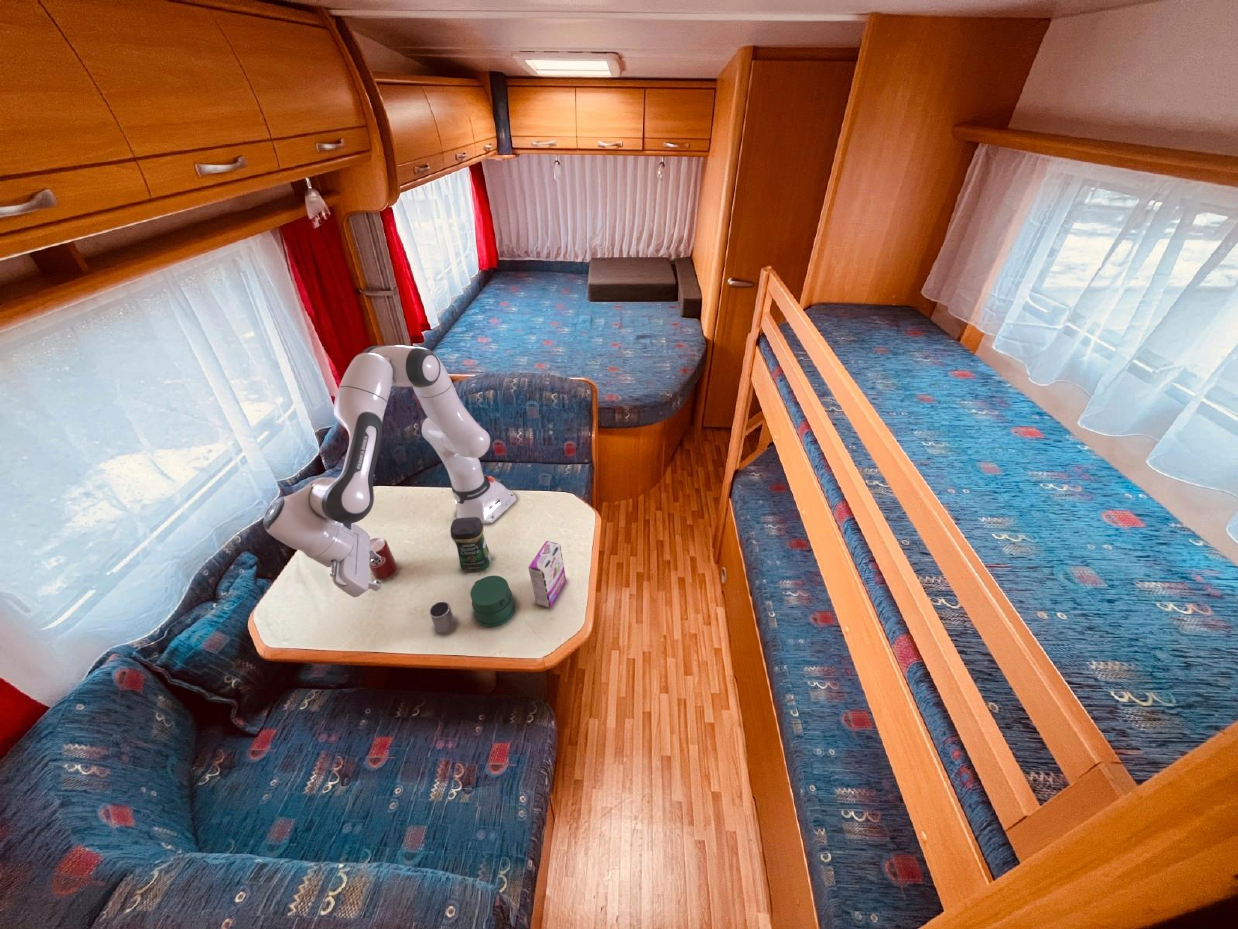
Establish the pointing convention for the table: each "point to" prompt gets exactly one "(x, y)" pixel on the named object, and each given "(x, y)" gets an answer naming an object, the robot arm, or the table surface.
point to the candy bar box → (547, 574)
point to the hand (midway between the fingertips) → (378, 573)
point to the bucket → (492, 601)
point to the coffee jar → (470, 544)
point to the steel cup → (442, 617)
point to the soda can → (382, 560)
